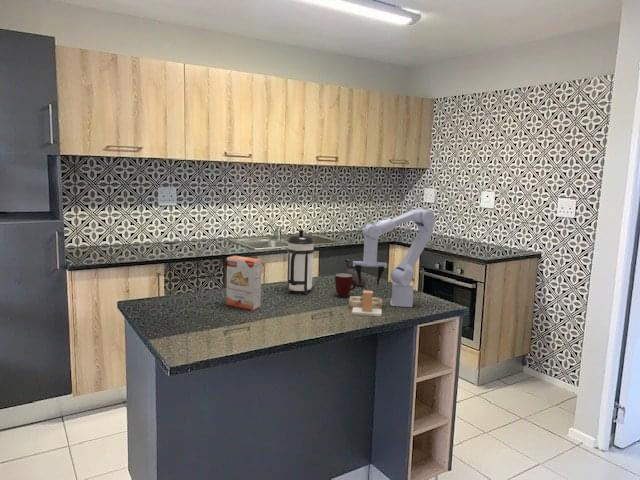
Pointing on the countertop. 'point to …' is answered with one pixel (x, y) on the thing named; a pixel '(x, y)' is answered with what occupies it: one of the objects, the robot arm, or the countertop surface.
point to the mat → (374, 312)
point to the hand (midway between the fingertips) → (368, 283)
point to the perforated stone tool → (356, 277)
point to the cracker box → (244, 282)
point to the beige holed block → (357, 301)
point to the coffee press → (300, 263)
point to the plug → (367, 301)
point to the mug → (344, 284)
